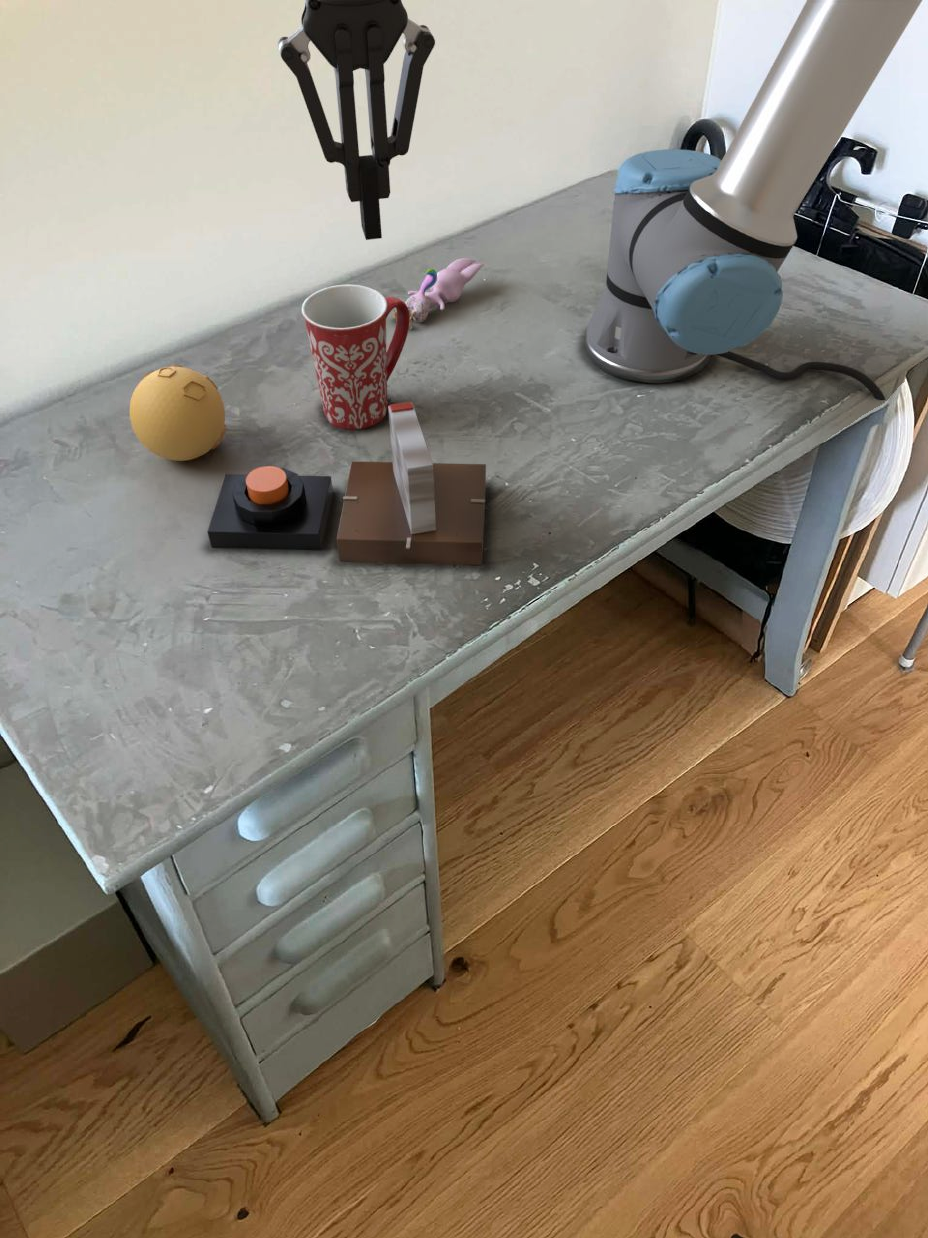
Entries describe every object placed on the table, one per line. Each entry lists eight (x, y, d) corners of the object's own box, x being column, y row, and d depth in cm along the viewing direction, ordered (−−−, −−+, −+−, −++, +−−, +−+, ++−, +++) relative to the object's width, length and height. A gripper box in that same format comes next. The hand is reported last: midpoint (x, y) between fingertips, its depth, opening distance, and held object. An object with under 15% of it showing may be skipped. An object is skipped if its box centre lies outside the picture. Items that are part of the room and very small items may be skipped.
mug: (346, 446, 113) (333, 337, 103) (300, 409, 117) (284, 302, 108) (435, 402, 118) (431, 296, 108) (388, 369, 123) (381, 264, 113)
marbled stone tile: (436, 530, 98) (433, 462, 92) (411, 534, 98) (407, 466, 92) (415, 467, 105) (412, 400, 99) (393, 470, 105) (387, 403, 99)
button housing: (333, 492, 107) (329, 462, 104) (321, 550, 101) (316, 520, 98) (229, 490, 108) (222, 459, 105) (211, 548, 102) (203, 517, 99)
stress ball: (215, 484, 108) (196, 405, 101) (127, 474, 110) (102, 396, 102) (244, 428, 115) (229, 350, 108) (162, 419, 116) (141, 342, 109)
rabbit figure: (422, 343, 129) (498, 280, 135) (414, 304, 124) (493, 240, 130) (386, 325, 132) (462, 265, 138) (378, 287, 127) (457, 225, 133)
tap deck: (487, 479, 108) (487, 456, 106) (482, 573, 99) (482, 549, 96) (354, 477, 109) (351, 453, 107) (336, 569, 99) (333, 545, 97)
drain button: (291, 479, 103) (289, 466, 102) (285, 505, 100) (282, 491, 99) (252, 479, 103) (249, 465, 102) (245, 504, 100) (242, 491, 99)
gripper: (422, -83, 81) (432, 207, 98) (258, -72, 79) (297, 221, 97) (441, -58, 76) (448, 243, 93) (266, -45, 74) (306, 259, 92)
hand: (371, 231), depth 95 cm, fingers closed
